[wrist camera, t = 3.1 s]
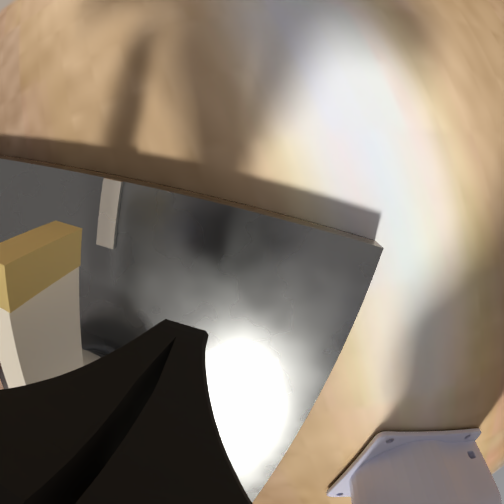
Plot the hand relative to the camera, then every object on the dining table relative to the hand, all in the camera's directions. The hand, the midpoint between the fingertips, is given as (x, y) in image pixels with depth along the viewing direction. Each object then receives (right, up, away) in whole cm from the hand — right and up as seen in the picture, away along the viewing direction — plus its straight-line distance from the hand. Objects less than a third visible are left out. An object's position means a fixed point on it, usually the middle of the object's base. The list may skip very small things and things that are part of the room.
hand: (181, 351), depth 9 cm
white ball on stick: (-5, -1, +2) cm, 5 cm away
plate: (-5, -3, +6) cm, 8 cm away
